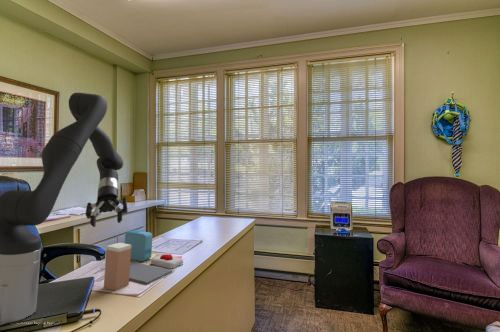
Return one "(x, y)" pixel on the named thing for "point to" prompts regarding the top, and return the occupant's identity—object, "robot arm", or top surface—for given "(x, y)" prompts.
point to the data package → (139, 244)
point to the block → (117, 266)
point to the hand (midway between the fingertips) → (106, 223)
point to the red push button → (167, 261)
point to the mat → (146, 273)
